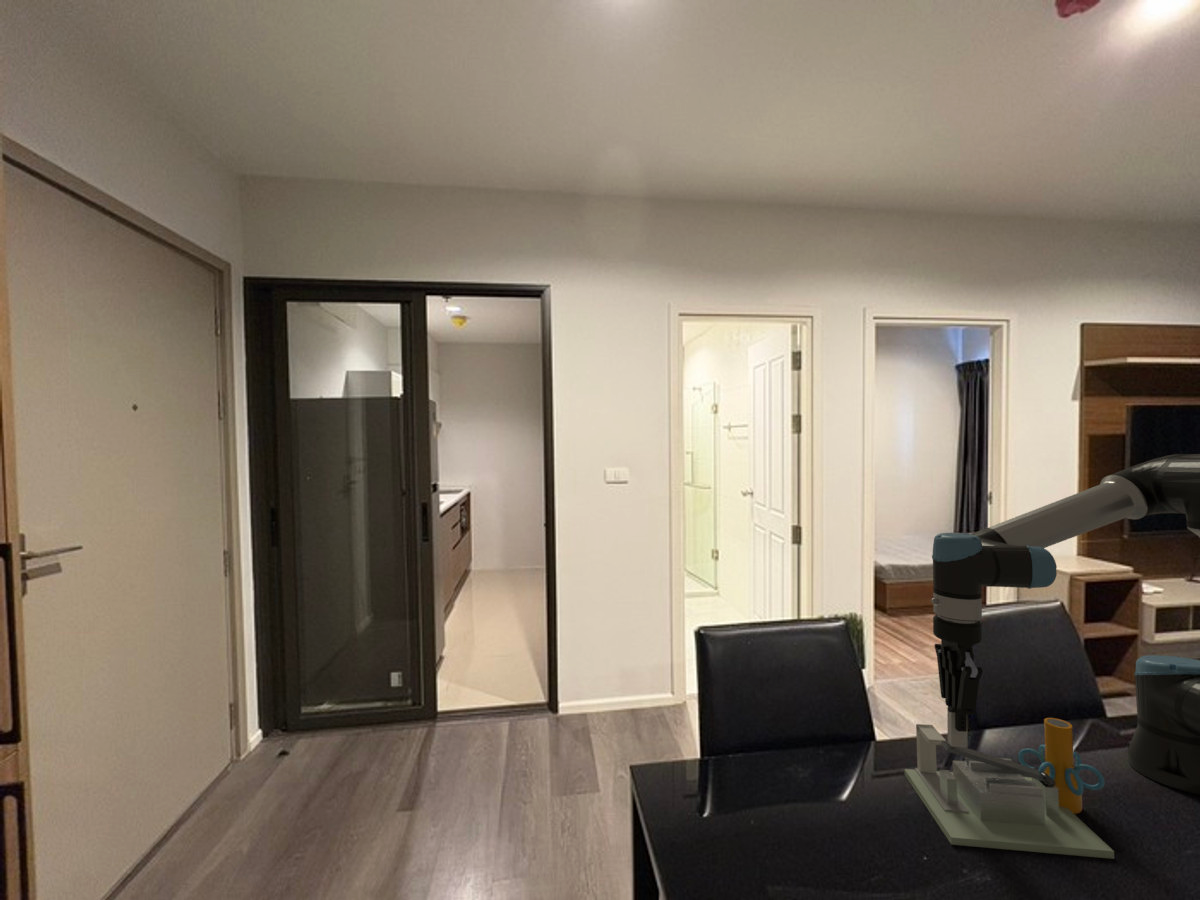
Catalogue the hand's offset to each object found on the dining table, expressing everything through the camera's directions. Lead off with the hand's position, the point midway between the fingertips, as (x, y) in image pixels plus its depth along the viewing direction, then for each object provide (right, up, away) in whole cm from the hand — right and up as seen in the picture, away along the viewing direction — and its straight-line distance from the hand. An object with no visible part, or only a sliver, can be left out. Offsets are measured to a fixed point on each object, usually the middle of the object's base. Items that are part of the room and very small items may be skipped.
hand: (957, 744), depth 99 cm
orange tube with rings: (+20, -11, 0) cm, 23 cm away
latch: (0, -10, +7) cm, 12 cm away
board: (+6, -12, -1) cm, 13 cm away
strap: (+6, -3, -1) cm, 7 cm away
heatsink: (+6, -10, -1) cm, 12 cm away
